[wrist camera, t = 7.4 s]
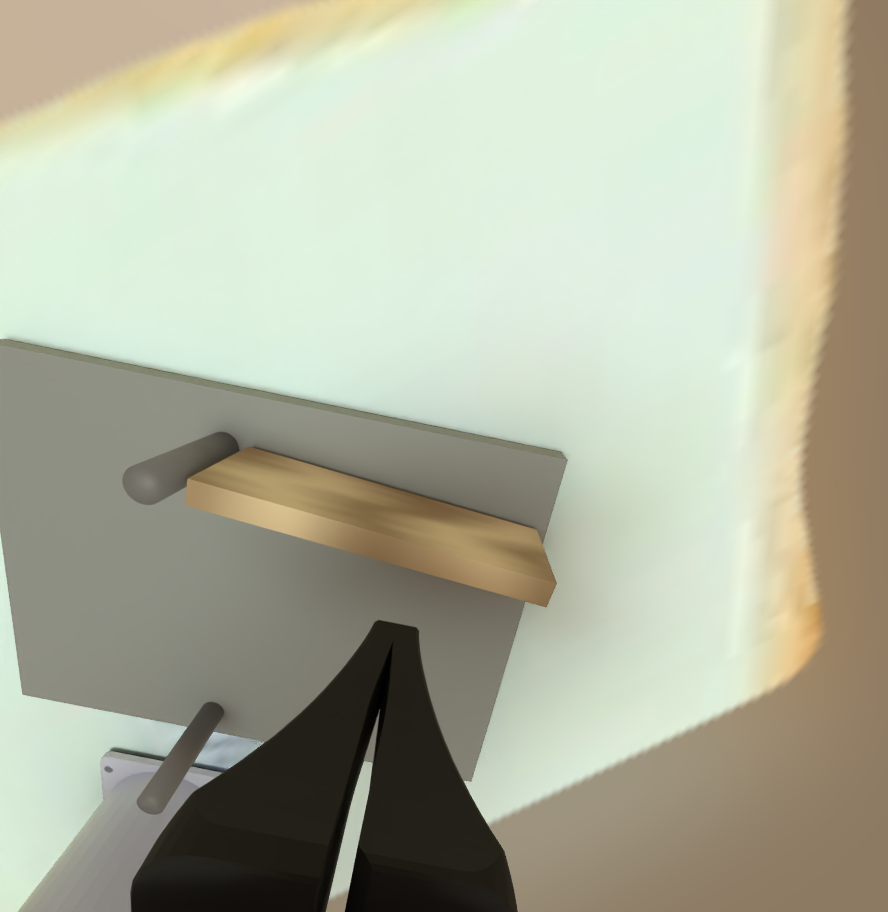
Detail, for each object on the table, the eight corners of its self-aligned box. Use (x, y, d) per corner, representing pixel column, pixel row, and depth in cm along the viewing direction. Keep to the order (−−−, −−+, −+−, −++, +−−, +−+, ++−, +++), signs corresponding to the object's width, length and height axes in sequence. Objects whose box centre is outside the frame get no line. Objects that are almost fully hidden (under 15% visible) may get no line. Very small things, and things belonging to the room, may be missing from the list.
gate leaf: (536, 529, 18) (556, 583, 14) (528, 549, 18) (546, 607, 14) (248, 446, 17) (187, 478, 13) (245, 467, 18) (184, 505, 14)
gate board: (470, 760, 24) (473, 889, 18) (44, 676, 24) (-86, 783, 18) (561, 451, 18) (603, 503, 13) (5, 339, 18) (-200, 341, 12)
